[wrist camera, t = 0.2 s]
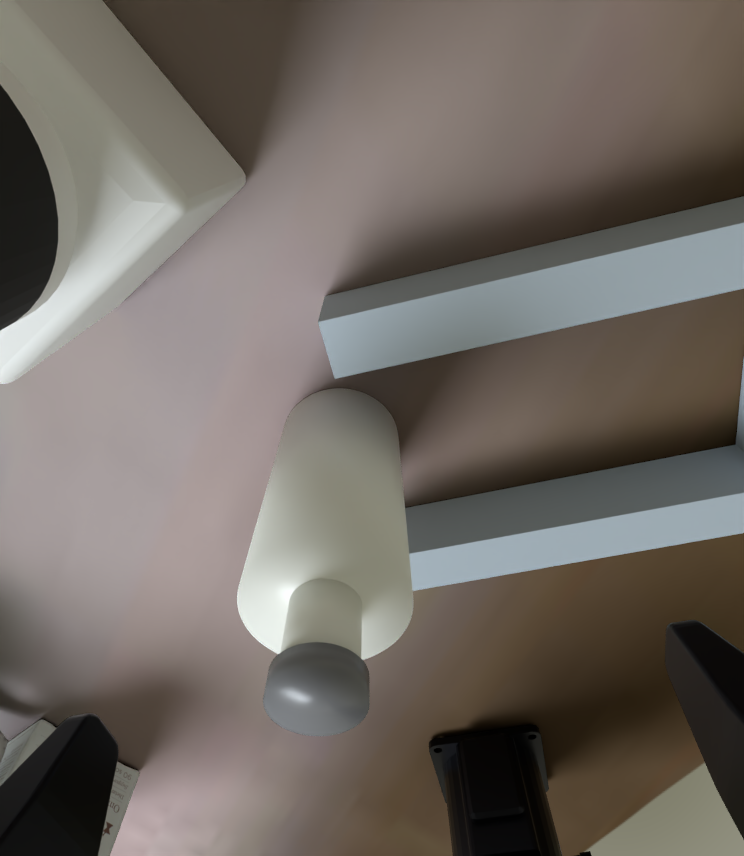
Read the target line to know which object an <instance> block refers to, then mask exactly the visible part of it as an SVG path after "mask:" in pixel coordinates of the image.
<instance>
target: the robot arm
mask: <svg viewBox="0 0 744 856" xmlns="http://www.w3.org/2000/svg"><path fill="white" fill-rule="evenodd" d="M665 664H666V669H667V672H668V676H669V678H670V681H671V683H672V685H673V688H674V690H675V692H676V695H677V697H678V700H679V702H680V704H681V707H682V709H683V711H684V714H685V716H686V718H687V721H688V723H689V726H690V728H691V730H692V733H693V735H694V737H695V740H696V742H697V744H698V747H699V749H700V752H701V754H702V756H703V759H704V761H705V763H706V766H707V768H708V770H709V773H710V775H711V777H712V779H713V782H714V784H715V786H716V788H717V790H718V792H719V794H720V796H721V798H722V800H723V802H724V804H725V806H726V808H727V809H728V811H729V813H730V815H731V817H732V819H733V821H734V822H735V824H736V826H737V828H738V830H739V832H740V834H741V835H742V837H743V839H744V653H743V652H742V651H740V650H739V649H738V648H736V647H735V646H734V645H732V644H731V643H729V642H728V641H727V640H725V639H724V638H722V637H721V636H720V635H718V634H717V633H716V632H714V631H713V630H711V629H710V628H709V627H707V626H706V625H704V624H703V623H701V622H699V621H696V620H688V621H681V622H675V623H670V624H669V625H668V626H667V628H666V645H665ZM429 752H430V755H431V758H432V761H433V764H434V768H435V771H436V774H437V777H438V780H439V783H440V787H441V790H442V793H443V796H444V799H445V802H446V803H447V807H448V816H449V825H450V834H451V843H452V852H453V856H562V852H561V849H560V845H559V841H558V837H557V833H556V830H555V826H554V822H553V818H552V814H551V811H550V807H549V803H548V799H547V795H546V792H547V791H548V789H549V787H548V780H547V774H546V767H545V760H544V753H543V747H542V740H541V734H540V731H539V728H538V727H537V726H534V725H528V726H521V727H514V728H507V729H500V730H493V731H486V732H479V733H472V734H465V735H458V736H452V737H445V738H438V739H433V740H431V741H430V742H429ZM117 761H118V744H117V741H116V740H115V738H114V737H113V735H112V734H111V733H110V731H109V730H108V729H107V727H106V726H105V725H104V723H103V722H102V721H101V719H100V718H99V717H98V716H97V715H96V714H93V713H87V714H81V715H75V716H71V717H69V718H67V719H66V720H64V721H63V722H62V723H61V724H60V725H59V726H58V727H57V728H56V729H55V730H54V731H53V732H52V733H51V734H50V735H49V736H48V737H47V739H46V740H45V741H44V742H43V743H42V744H41V745H40V746H39V747H38V748H37V749H36V750H35V751H34V752H33V753H32V754H31V755H30V756H29V757H28V758H27V759H26V760H25V761H24V762H23V763H22V764H21V765H20V766H19V767H18V768H17V769H16V770H15V771H14V772H13V773H12V774H11V775H10V776H9V777H8V778H7V779H6V780H5V781H4V782H3V783H2V784H1V786H0V856H98V853H99V849H100V844H101V840H102V835H103V830H104V825H105V820H106V815H107V810H108V805H109V800H110V795H111V790H112V786H113V781H114V776H115V771H116V766H117ZM576 856H591V853H590V851H589V852H582V853H580V855H576Z"/></svg>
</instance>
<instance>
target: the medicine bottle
mask: <svg viewBox="0 0 744 856" xmlns="http://www.w3.org/2000/svg"><path fill="white" fill-rule="evenodd" d="M245 183H246V175H245V173H244V171H243V170H242V168H241V167H240V166H239V165H238V164H237V162H236V161H235V160H234V159H233V157H232V156H231V155H230V154H229V153H228V151H227V150H226V149H225V148H224V147H223V145H222V144H221V143H220V142H219V141H218V139H217V138H216V137H215V136H214V135H213V133H212V132H211V131H210V130H209V129H208V127H207V126H206V125H205V124H204V122H203V121H202V120H201V119H200V118H199V116H198V115H197V114H196V113H195V112H194V110H193V109H192V108H191V107H190V106H189V104H188V103H187V102H186V101H185V100H184V98H183V97H182V96H181V95H180V93H179V92H178V91H177V90H176V89H175V87H174V86H173V85H172V84H171V83H170V81H169V80H168V79H167V78H166V77H165V75H164V74H163V73H162V72H161V71H160V69H159V68H158V67H157V66H156V64H155V63H154V62H153V61H152V60H151V58H150V57H149V56H148V55H147V54H146V52H145V51H144V50H143V49H142V48H141V46H140V45H139V44H138V43H137V42H136V40H135V39H134V38H133V37H132V36H131V34H130V33H129V32H128V31H127V29H126V28H125V27H124V26H123V25H122V23H121V22H120V21H119V20H118V19H117V17H116V16H115V15H114V14H113V13H112V11H111V10H110V9H109V8H108V7H107V5H106V4H105V3H104V2H103V0H0V383H2V384H7V383H10V382H13V381H15V380H17V379H18V378H19V377H21V376H22V375H24V374H25V373H26V372H28V371H29V370H31V369H32V368H33V367H35V366H36V365H38V364H39V363H40V362H42V361H43V360H45V359H46V358H47V357H49V356H50V355H52V354H53V353H54V352H56V351H57V350H59V349H60V348H61V347H63V346H64V345H65V344H67V343H68V342H70V341H71V340H72V339H74V338H75V337H77V336H78V335H79V334H81V333H82V332H84V331H85V330H86V329H88V328H89V327H91V326H92V325H93V324H95V323H96V322H98V321H99V320H100V319H102V318H103V317H105V316H106V315H107V314H109V313H110V312H112V311H113V310H114V309H116V308H117V307H118V306H119V305H120V304H121V303H122V302H123V301H124V300H125V299H126V298H127V297H128V296H130V295H131V294H132V293H133V292H134V291H135V290H136V289H137V288H138V287H139V286H140V285H141V284H142V283H143V282H144V281H145V280H146V279H147V278H148V277H149V276H150V275H152V274H153V273H154V272H155V271H156V270H157V269H158V268H159V267H160V266H161V265H162V264H163V263H164V262H165V261H166V260H167V259H168V258H169V257H170V256H171V255H172V254H174V253H175V252H176V251H177V250H178V249H179V248H180V247H181V246H182V245H183V244H184V243H185V242H186V241H187V240H188V239H189V238H190V237H191V236H192V235H193V234H194V233H196V232H197V231H198V230H199V229H200V228H201V227H202V226H203V225H204V224H205V223H206V222H207V221H208V220H209V219H210V218H211V217H212V216H213V215H214V214H215V213H216V212H218V211H219V210H220V209H221V208H222V207H223V206H224V205H225V204H226V203H227V202H228V201H229V200H230V199H231V198H232V197H233V196H234V195H235V194H236V193H237V192H238V191H240V190H241V189H242V188H243V186H244V184H245Z"/></svg>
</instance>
